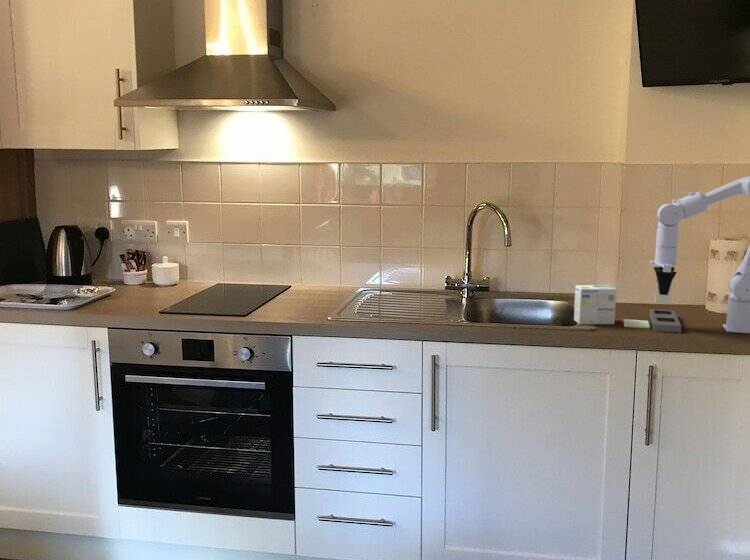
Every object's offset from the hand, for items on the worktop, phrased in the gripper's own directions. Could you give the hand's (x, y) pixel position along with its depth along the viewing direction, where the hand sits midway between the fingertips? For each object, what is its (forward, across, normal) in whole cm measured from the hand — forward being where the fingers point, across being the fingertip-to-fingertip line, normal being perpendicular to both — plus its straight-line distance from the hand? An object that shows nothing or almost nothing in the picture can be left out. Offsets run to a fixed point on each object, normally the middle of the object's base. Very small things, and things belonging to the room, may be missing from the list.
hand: (663, 293), depth 230 cm
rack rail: (+10, -3, +1) cm, 10 cm away
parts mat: (+10, 0, -7) cm, 12 cm away
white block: (+3, 0, 0) cm, 3 cm away
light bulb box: (+10, 0, -19) cm, 21 cm away
